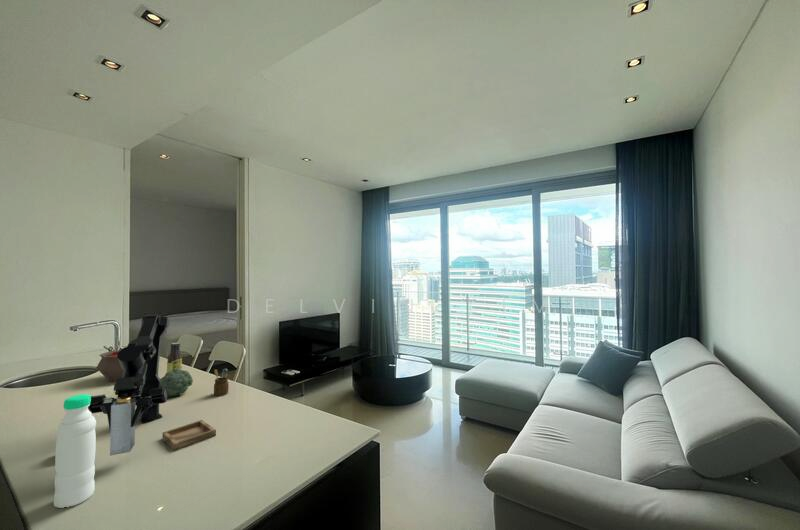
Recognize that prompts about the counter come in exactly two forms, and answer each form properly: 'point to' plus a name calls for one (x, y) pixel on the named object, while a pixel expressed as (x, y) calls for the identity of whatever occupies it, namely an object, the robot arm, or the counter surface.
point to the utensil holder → (220, 385)
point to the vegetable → (176, 382)
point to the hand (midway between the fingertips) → (121, 428)
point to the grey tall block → (122, 425)
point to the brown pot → (110, 365)
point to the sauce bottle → (174, 358)
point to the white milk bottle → (75, 453)
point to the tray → (188, 434)
